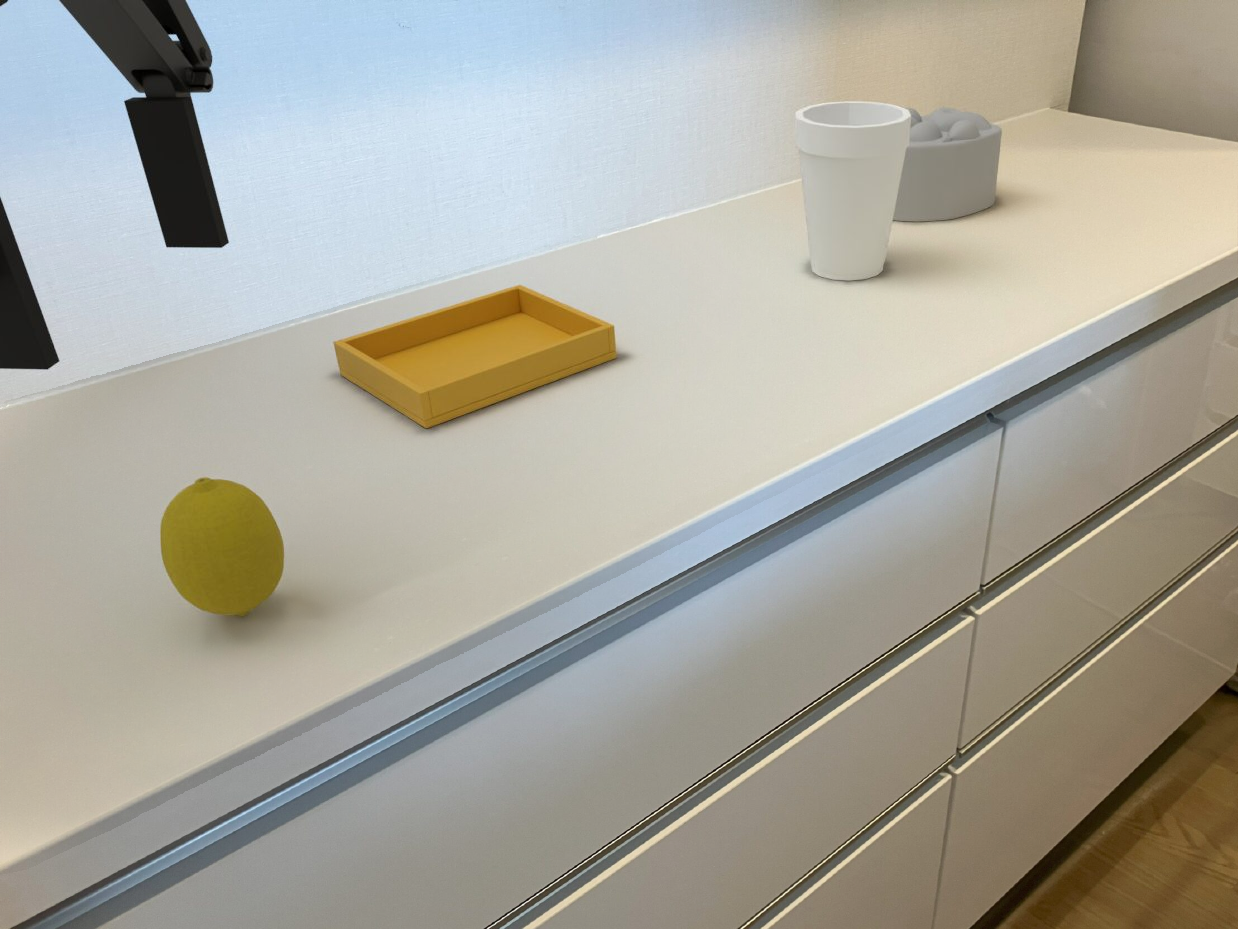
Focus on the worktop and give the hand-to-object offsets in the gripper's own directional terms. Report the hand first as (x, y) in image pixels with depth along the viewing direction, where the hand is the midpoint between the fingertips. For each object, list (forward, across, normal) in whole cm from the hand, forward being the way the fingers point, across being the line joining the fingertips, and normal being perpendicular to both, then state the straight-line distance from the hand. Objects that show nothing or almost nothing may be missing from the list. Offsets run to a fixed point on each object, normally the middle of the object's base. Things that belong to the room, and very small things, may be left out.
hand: (119, 298), depth 48 cm
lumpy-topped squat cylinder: (+18, +74, -38) cm, 86 cm away
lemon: (+18, +2, 0) cm, 18 cm away
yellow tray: (+18, +33, -4) cm, 38 cm away
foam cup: (+18, +55, -30) cm, 66 cm away
